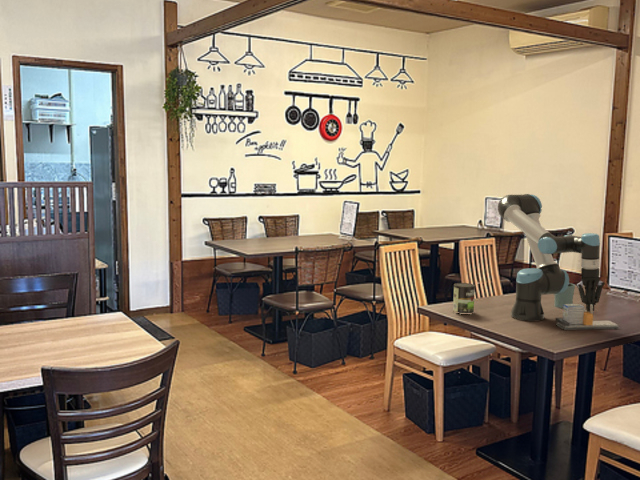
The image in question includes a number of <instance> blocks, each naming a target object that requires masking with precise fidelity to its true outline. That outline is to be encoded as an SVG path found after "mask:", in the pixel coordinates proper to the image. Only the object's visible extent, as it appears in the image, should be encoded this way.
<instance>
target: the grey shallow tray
mask: <svg viewBox="0 0 640 480" xmlns="http://www.w3.org/2000/svg"><path fill="white" fill-rule="evenodd" d="M555 322H556V323H555V326H556V325H557V326H556V327H558V328H560V329H562V330H563V329H564V331H575V330H577V331H579V330H587V331H588V330H619V329H620V326H619V325H618V324H617V323H616V322H612V321H611V320H593V324H592V325H584V324H570V323H569V322H567V321H565V320H563V318H561V317H556V318H555Z"/></svg>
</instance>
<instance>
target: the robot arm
mask: <svg viewBox="0 0 640 480" xmlns="http://www.w3.org/2000/svg"><path fill="white" fill-rule="evenodd" d="M542 207H543V204H542V201H541V199H540V198H539V197H538V196H537V195H534V194H529V193H524V194H506V195H504V196H503V197H502V198H500V199H499V201H498V203H497V212H498V215H500V217H501V218H502V219H503V220H505V222H507V223H511V224H512V225H514V227H516V228H518V229H519V231H521V232H522V233H524V234H525V238H526V240H527V243H528V246H529V249H530V252H531V254H532V259H533V260H534V263H535V265H536V268H535V267H532V268H531V267H530V268H528V267H527V268H523V269H520V270H519V271H518V272H517V274H516V279H515V280H516V282H515V283H516V285H515V286H516V288H515V302H514V303H513V307H512V309H511V313H510V315H511V318H513V317H514V319H515V318H517V319H516V320H519V319H521V320H520V321H525V320H528V321H529V322H538V321H539V320H540V321H542V320H544V319H545V312H544V309H543V305H542V296H545V295H546V296H547V295H555V294H558V293H562V292H564V291H565V290H566V289H567V287H568V285H569V283H570V277H569V273H567V271H566V270H564V269H562V268H560V264H559V263H557V262H555V260H554V257H553V255H552V254H563V253H564V254H565V253H577V254H580V255H581V259H580V260H581V262H580V263H581V265H580V266H581V271H580V272H581V273H580V274H581V278H580V282H578V283H575V287H577V288H578V289H577V290H578V293H579V296H580V300H581V303H583V304H584V305H585V309H586V310H587V312H589V313H591V314H593V315H594V312H595V306H596V304H598V303H599V302H600V299H601V295H602V291H603V287H604V286H605V284H606V283H605V282H604V281H602V280H601V278H600V268H599V267H600V253H601V252H600V250H601V249H600V248H601V247H600V245H601V243H600V242H601V241H600V235H599V234H598V233H593V232H592V233H591V232H590V233H589V232H588V233H586V232H585V233H582V234H581V236H576V235H572V234H570V235H569V234H567V235H566V234H565V235H563V236H556V235H554V234H552V233H551V232H550V231H548V230H547V229H545V228H544V227H543V226H542V225H541V222H540V217H541V213H542V211H543V209H542ZM528 321H527V322H528Z"/></svg>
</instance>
